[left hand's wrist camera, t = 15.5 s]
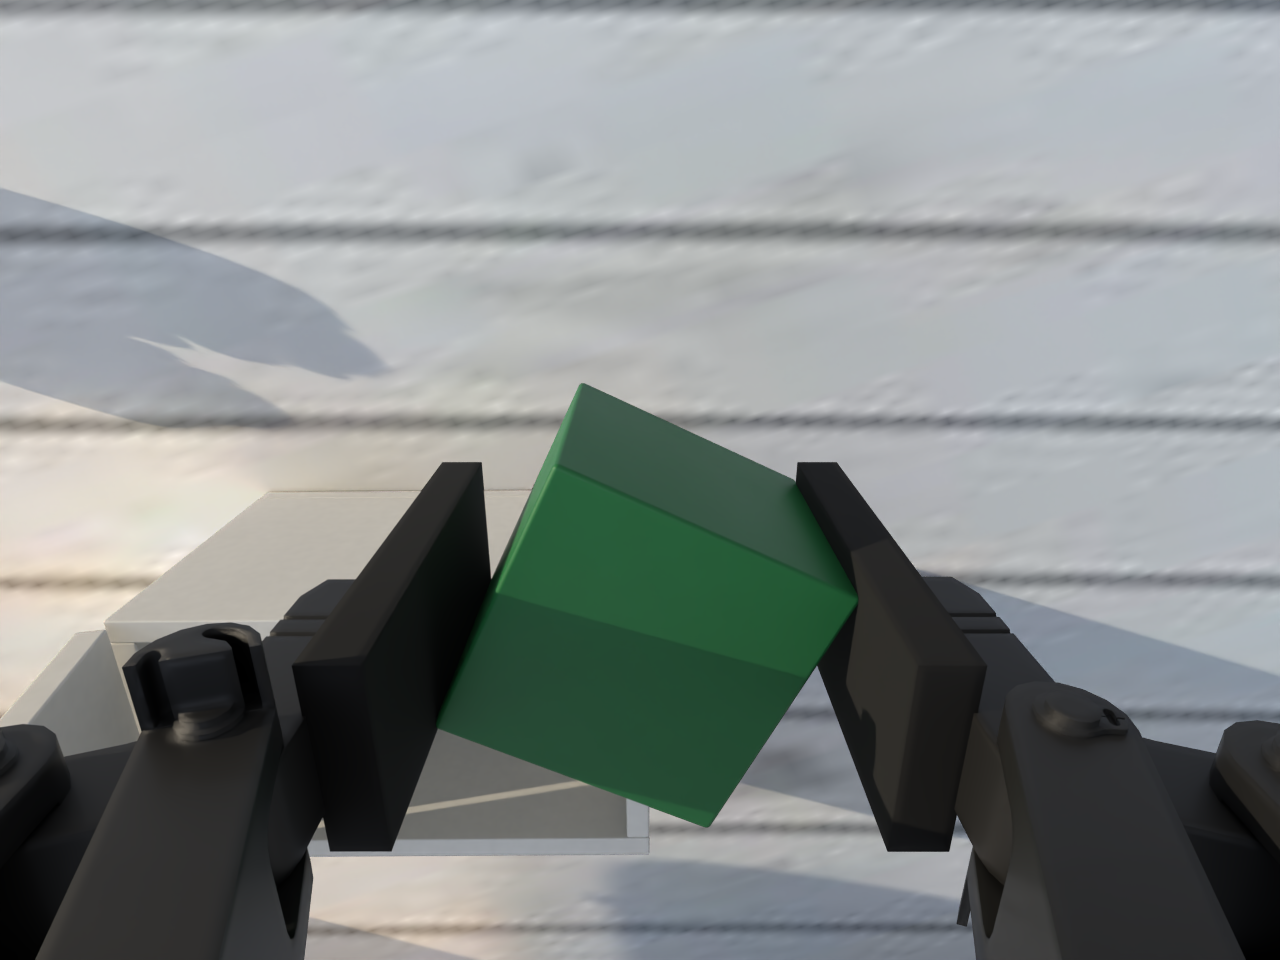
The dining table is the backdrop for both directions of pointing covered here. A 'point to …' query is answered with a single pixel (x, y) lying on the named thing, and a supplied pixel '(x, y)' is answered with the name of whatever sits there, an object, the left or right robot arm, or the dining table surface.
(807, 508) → the block
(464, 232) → the dining table surface
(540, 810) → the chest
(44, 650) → the dining table surface
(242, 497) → the dining table surface
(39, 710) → the lid
